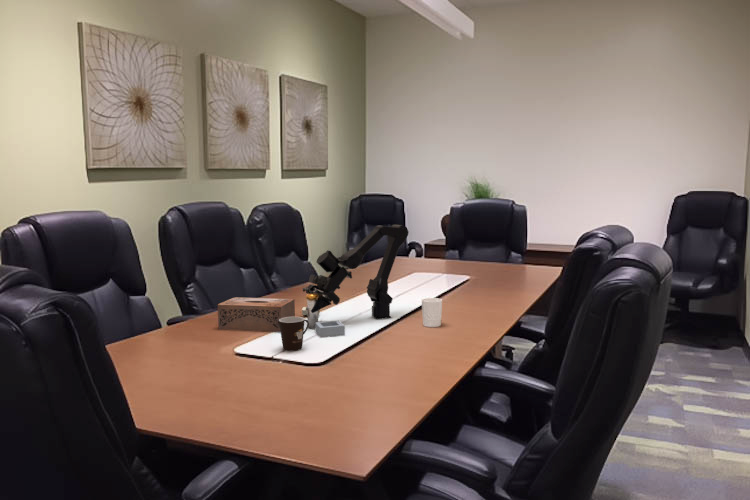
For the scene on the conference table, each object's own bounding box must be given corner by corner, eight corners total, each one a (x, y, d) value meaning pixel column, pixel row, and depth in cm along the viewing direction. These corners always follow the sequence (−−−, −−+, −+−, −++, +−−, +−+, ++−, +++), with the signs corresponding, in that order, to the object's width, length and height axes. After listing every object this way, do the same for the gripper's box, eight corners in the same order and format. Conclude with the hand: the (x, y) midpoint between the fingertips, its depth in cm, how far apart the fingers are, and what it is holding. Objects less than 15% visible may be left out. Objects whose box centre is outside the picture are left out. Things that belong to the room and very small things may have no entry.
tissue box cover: (295, 323, 240) (294, 299, 239) (281, 332, 226) (280, 306, 225) (235, 321, 246) (234, 297, 245) (218, 330, 232) (217, 304, 231)
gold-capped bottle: (317, 325, 235) (316, 292, 234) (320, 328, 231) (319, 294, 229) (306, 326, 234) (305, 293, 232) (308, 329, 230) (307, 295, 228)
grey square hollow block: (338, 329, 229) (338, 320, 228) (344, 335, 220) (344, 325, 220) (315, 331, 226) (315, 322, 226) (320, 337, 218) (320, 327, 217)
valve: (316, 318, 247) (315, 289, 246) (300, 318, 249) (300, 289, 247) (320, 315, 254) (320, 286, 252) (305, 314, 255) (305, 286, 254)
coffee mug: (284, 353, 198) (283, 323, 197) (276, 347, 206) (275, 318, 204) (317, 348, 203) (316, 319, 202) (308, 342, 211) (307, 314, 210)
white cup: (444, 323, 235) (444, 298, 234) (438, 328, 228) (438, 302, 227) (425, 322, 238) (425, 297, 237) (418, 326, 231) (418, 301, 230)
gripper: (310, 263, 240) (285, 294, 235) (331, 269, 224) (305, 302, 219) (329, 281, 245) (304, 311, 240) (350, 288, 229) (325, 320, 224)
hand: (309, 311), depth 231 cm, fingers closed on gold-capped bottle, 4 cm apart
